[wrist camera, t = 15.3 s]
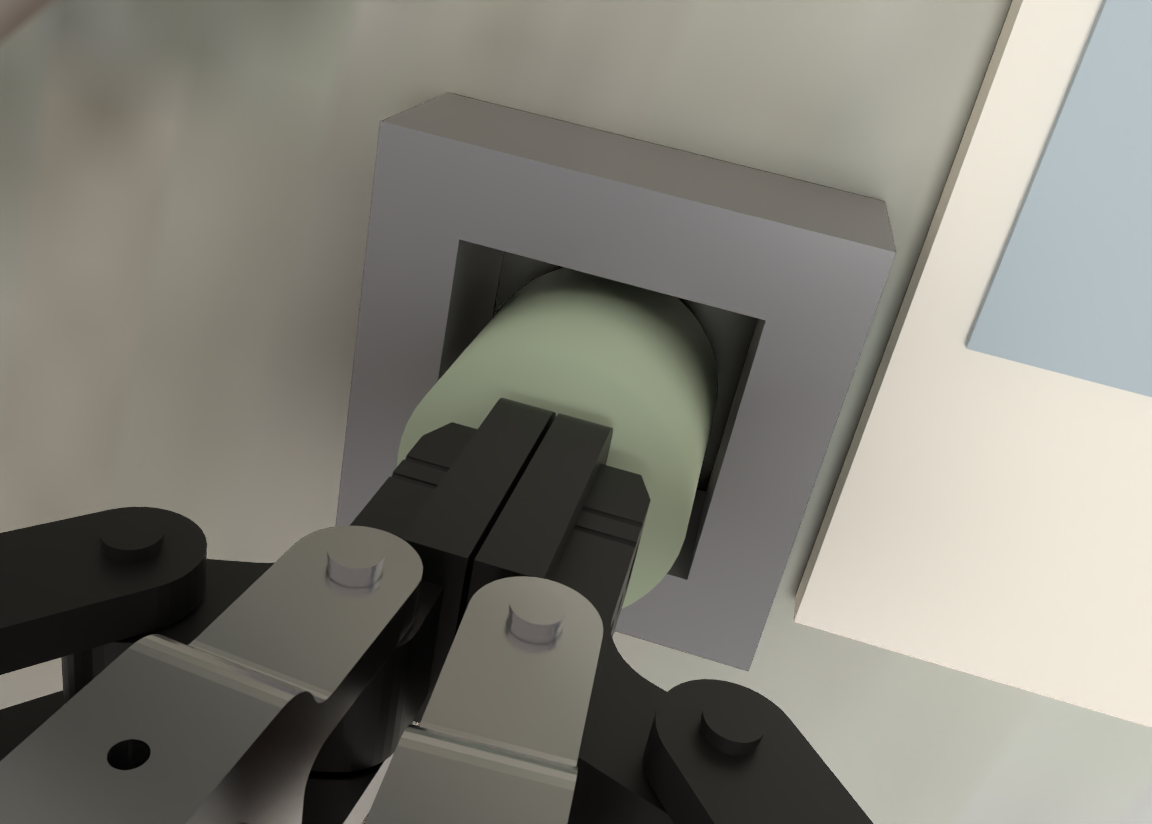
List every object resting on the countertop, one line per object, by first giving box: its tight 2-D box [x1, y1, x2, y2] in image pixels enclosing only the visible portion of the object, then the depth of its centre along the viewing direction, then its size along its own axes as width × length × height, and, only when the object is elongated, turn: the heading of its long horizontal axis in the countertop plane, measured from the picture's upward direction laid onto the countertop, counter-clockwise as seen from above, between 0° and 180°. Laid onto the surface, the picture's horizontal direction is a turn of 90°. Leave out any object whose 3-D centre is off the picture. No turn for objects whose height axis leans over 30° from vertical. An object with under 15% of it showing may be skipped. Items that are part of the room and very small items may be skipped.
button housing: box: [335, 93, 896, 671], centre depth 17 cm, size 7×7×3 cm
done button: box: [397, 268, 718, 609], centre depth 16 cm, size 4×4×4 cm
